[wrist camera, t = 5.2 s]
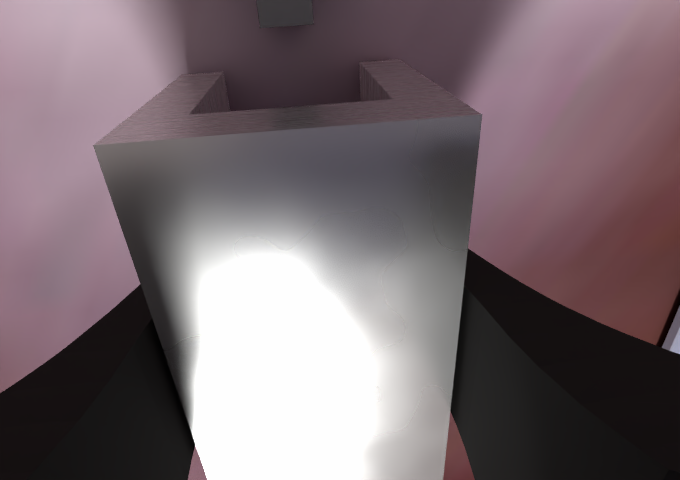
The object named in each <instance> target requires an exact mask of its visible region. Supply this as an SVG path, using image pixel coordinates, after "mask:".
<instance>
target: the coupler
mask: <svg viewBox="0 0 680 480" xmlns="http://www.w3.org/2000/svg"><path fill="white" fill-rule="evenodd" d="M256 1H257V8H258V16H259V23H260V28H267V27H282V26H296V25H310V24H314V22H313V9H312V0H256Z"/></svg>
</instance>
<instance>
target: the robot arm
mask: <svg viewBox="0 0 680 480" xmlns="http://www.w3.org/2000/svg"><path fill="white" fill-rule="evenodd" d="M450 411H451V413H452V416H453V418H454V420H455V423H456V425H457V428H458V430H459V433H460V436H461V438H462V441H463V444H464V446H465V449H466V452H467V456H468V459H469V462H470V465H471V468H472V472H473V475H474V478H475V480H680V306H679V308H678V311H677V313H676V315H675V318H674V320H673V322H672V325H671V327H670V329H669V332H668V334H667V336H666V339H665V341H664V343H663V346H662V348H661V347H658V346H656V345H653V344H651V343H648V342H645V341H643V340H640V339H638V338H635V337H633V336H630V335H627V334H625V333H622V332H620V331H618V330H615V329H613V328H610V327H608V326H606V325H603V324H601V323H599V322H597V321H595V320H592V319H590V318H588V317H586V316H584V315H582V314H580V313H578V312H576V311H573V310H571V309H569V308H567V307H565V306H563V305H561V304H559V303H557V302H555V301H553V300H551V299H549V298H548V297H546V296H544V295H542V294H540V293H539V292H537V291H535V290H533V289H532V288H530V287H528V286H526V285H524V284H523V283H521V282H519V281H518V280H516V279H514V278H513V277H511V276H509V275H508V274H506V273H505V272H503V271H501V270H500V269H498V268H497V267H495V266H494V265H492V264H490V263H489V262H487V261H486V260H484V259H483V258H481V257H480V256H478V255H477V254H475V253H474V252H472V251H471V250H469V249H468V251H467V260H466V269H465V279H464V288H463V297H462V306H461V316H460V325H459V334H458V344H457V353H456V362H455V372H454V381H453V390H452V399H451V409H450ZM194 447H195V441H194V438H193V435H192V433H191V430H190V427H189V424H188V421H187V418H186V415H185V412H184V409H183V406H182V403H181V400H180V397H179V395H178V392H177V389H176V386H175V383H174V380H173V377H172V374H171V371H170V368H169V365H168V362H167V359H166V357H165V354H164V351H163V348H162V345H161V342H160V339H159V336H158V333H157V330H156V327H155V324H154V321H153V319H152V316H151V313H150V310H149V307H148V304H147V301H146V298H145V295H144V292H143V289H142V286H141V284H140V285H139V286H138V287H137V288H136V289H135V290H134V291H132V292H131V293H130V294H129V295H128V296H127V297H126V298H125V299H124V300H122V301H121V302H120V303H119V304H118V305H117V306H116V307H115V308H113V309H112V310H111V311H110V312H109V313H108V314H106V315H105V316H104V317H103V318H102V319H100V320H99V321H98V322H97V323H95V324H94V325H93V326H92V327H90V328H89V329H88V330H87V331H86V332H84V333H83V334H82V335H81V336H79V337H78V338H77V339H76V340H75V341H73V342H72V343H71V344H70V345H68V346H67V347H66V348H64V349H63V350H62V351H61V352H59V353H58V354H57V355H55V356H54V357H52V358H51V359H50V360H48V361H47V362H46V363H44V364H43V365H41V366H40V367H38V368H37V369H36V370H34V371H33V372H31V373H30V374H28V375H27V376H25V377H24V378H23V379H21V380H20V381H18V382H17V383H15V384H14V385H12V386H11V387H9V388H8V389H6V390H5V391H3V392H2V393H0V480H188V475H189V470H190V465H191V460H192V456H193V451H194Z"/></svg>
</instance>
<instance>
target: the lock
mask: <svg viewBox="0 0 680 480" xmlns="http://www.w3.org/2000/svg"><path fill="white" fill-rule="evenodd" d="M359 75H360V102H348V103H335V104H322V105H309V106H296V107H283V108H270V109H257V110H244V111H230V106H229V100H228V94H227V88H226V83H225V77H224V72H211V73H197V74H183V75H181V76H179V77H178V78H177V79H176V80H174V81H173V82H172V83H171V84H169V85H168V86H167V87H166V88H164V89H163V90H162V91H161V92H159V93H158V94H157V95H156V96H154V97H153V98H152V99H151V100H149V101H148V102H147V103H146V104H144V105H143V106H142V107H141V108H139V109H138V110H137V111H136V112H134V113H133V114H132V115H131V116H129V117H128V118H127V119H126V120H124V121H123V122H122V123H121V124H119V125H118V126H117V127H116V128H114V129H113V130H112V131H110V132H109V133H108V134H107V135H105V136H104V137H103V138H102V139H100V140H99V141H98V142H97V143H95V144H94V145H93V146H94V149H95V152H96V155H97V158H98V161H99V164H100V167H101V170H102V172H103V175H104V178H105V181H106V184H107V187H108V190H109V193H110V196H111V199H112V202H113V205H114V207H115V210H116V213H117V216H118V219H119V222H120V225H121V228H122V231H123V234H124V237H125V240H126V243H127V245H128V248H129V251H130V254H131V257H132V260H133V263H134V266H135V269H136V272H137V275H138V278H139V281H140V283H141V286H142V289H143V292H144V295H145V298H146V301H147V304H148V307H149V310H150V313H151V316H152V319H153V321H154V324H155V327H156V330H157V333H158V336H159V339H160V342H161V345H162V348H163V351H164V354H165V357H166V359H167V362H168V365H169V368H170V371H171V374H172V377H173V380H174V383H175V386H176V389H177V392H178V395H179V397H180V400H181V403H182V406H183V409H184V412H185V415H186V418H187V421H188V424H189V427H190V430H191V433H192V435H193V438H194V441H195V444H196V447H197V450H198V453H199V456H200V459H201V462H202V465H203V468H204V471H205V473H206V476H207V479H208V480H443V474H444V464H445V455H446V446H447V437H448V427H449V418H450V409H451V399H452V390H453V381H454V372H455V362H456V353H457V344H458V334H459V325H460V316H461V306H462V297H463V288H464V279H465V269H466V260H467V251H468V241H469V232H470V223H471V213H472V204H473V195H474V186H475V176H476V167H477V158H478V148H479V139H480V130H481V121H482V114H481V113H479V112H478V111H476V110H475V109H473V108H472V107H470V106H469V105H467V104H466V103H464V102H463V101H461V100H460V99H458V98H457V97H455V96H454V95H452V94H451V93H449V92H448V91H446V90H445V89H443V88H442V87H440V86H439V85H437V84H436V83H434V82H433V81H431V80H430V79H428V78H427V77H425V76H424V75H422V74H421V73H419V72H418V71H416V70H415V69H413V68H412V67H410V66H409V65H407V64H406V63H404V62H403V61H401V60H399V59H393V60H379V61H365V62H359Z"/></svg>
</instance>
